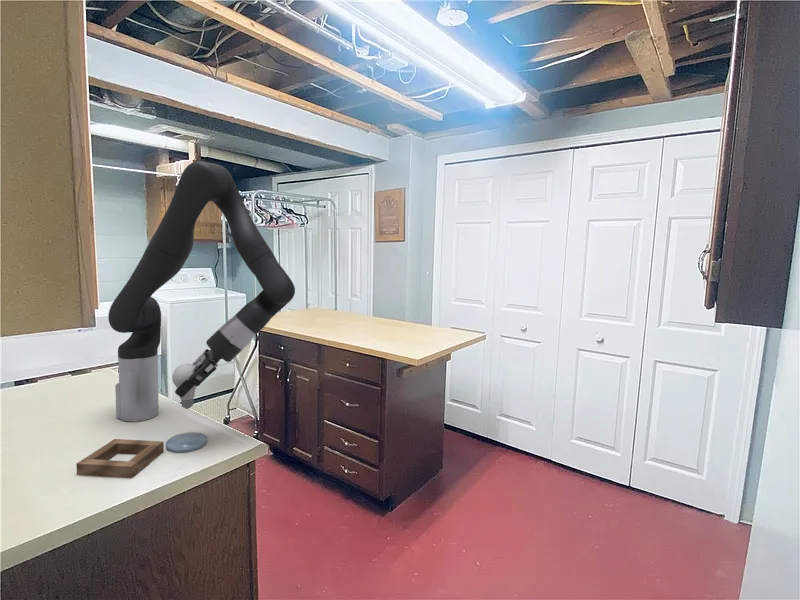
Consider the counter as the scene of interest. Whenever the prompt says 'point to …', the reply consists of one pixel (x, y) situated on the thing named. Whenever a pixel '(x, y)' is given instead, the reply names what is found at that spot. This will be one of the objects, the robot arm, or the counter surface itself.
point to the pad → (186, 442)
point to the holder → (126, 469)
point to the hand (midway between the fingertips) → (178, 390)
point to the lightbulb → (179, 377)
